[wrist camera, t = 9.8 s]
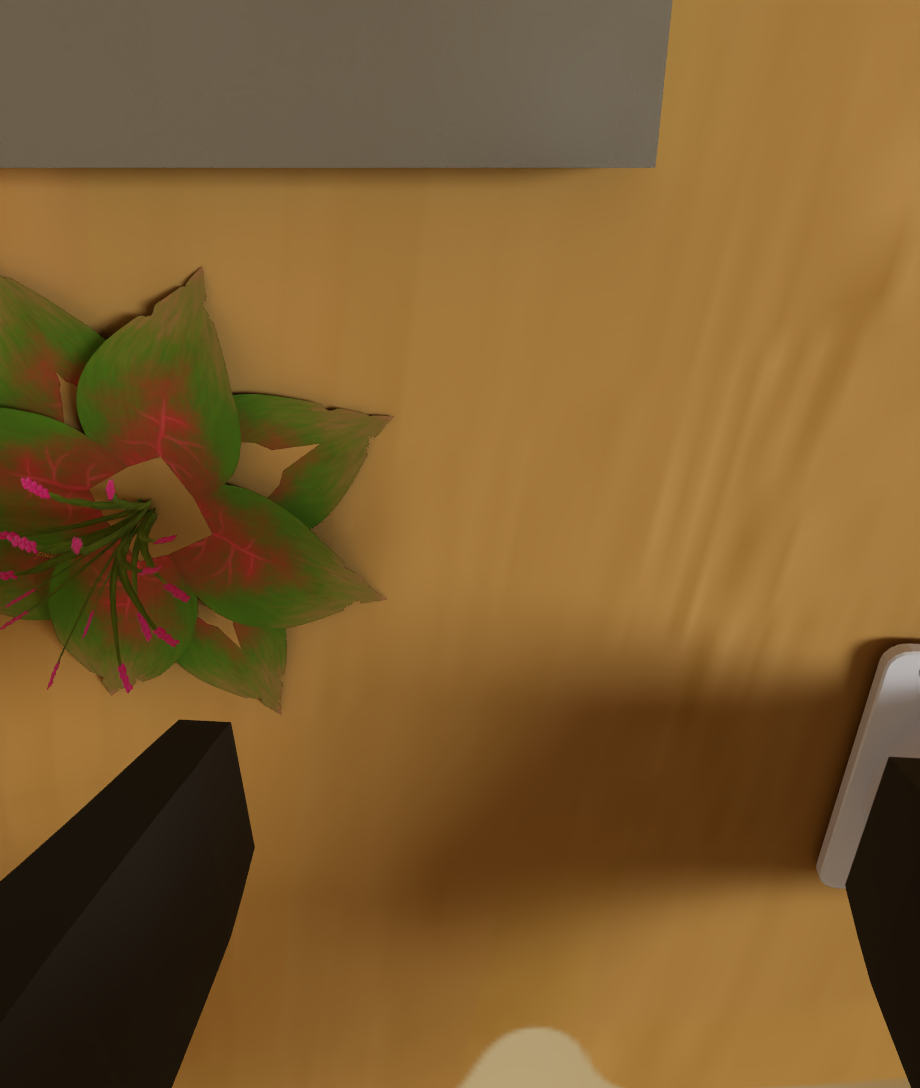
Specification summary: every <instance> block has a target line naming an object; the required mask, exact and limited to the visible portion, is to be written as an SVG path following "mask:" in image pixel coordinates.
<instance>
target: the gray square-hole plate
mask: <svg viewBox="0 0 920 1088" xmlns="http://www.w3.org/2000/svg"><path fill="white" fill-rule="evenodd" d="M671 8H672V0H0V168H655V166H656V156H657V146H658V136H659V126H660V116H661V107H662V97H663V87H664V77H665V67H666V58H667V48H668V38H669V28H670V18H671Z"/></svg>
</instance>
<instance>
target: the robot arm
mask: <svg viewBox="0 0 920 1088" xmlns="http://www.w3.org/2000/svg"><path fill="white" fill-rule="evenodd" d="M254 848H255V847H254V841H253V836H252V831H251V825H250V820H249V815H248V810H247V804H246V799H245V794H244V789H243V783H242V778H241V773H240V767H239V762H238V757H237V752H236V746H235V741H234V736H233V731H232V725H231V722H215V721H195V720H178V721H177V722H176V723H175V724H174V725H173V726H172V727H170V728H169V729H168V730H167V731H166V732H165V733H164V734H163V735H162V736H160V737H159V738H158V739H157V740H156V741H155V742H154V743H153V744H151V745H150V746H149V747H148V748H147V749H146V750H145V751H144V752H143V753H142V754H141V755H140V756H138V757H137V758H136V759H135V760H134V761H133V762H132V763H131V764H130V765H129V766H128V767H127V768H125V769H124V770H123V771H122V772H121V773H120V774H119V775H118V776H117V777H116V778H115V779H114V780H113V781H112V782H110V783H109V784H108V785H107V786H106V787H105V788H104V789H103V790H102V791H101V792H100V793H99V794H97V795H96V796H95V797H94V798H93V799H92V800H91V801H90V802H89V803H88V804H87V805H85V806H84V807H83V808H82V809H81V810H80V811H79V812H78V813H77V814H76V815H75V816H74V817H72V818H71V819H70V820H69V821H68V822H67V823H66V824H65V825H63V826H62V827H61V828H60V829H59V830H58V831H57V832H56V833H54V834H53V835H52V836H51V837H50V838H49V839H48V840H47V841H46V842H44V843H43V844H42V845H41V846H40V847H39V848H38V849H37V850H35V851H34V852H33V853H32V854H31V855H30V856H29V857H28V858H26V859H25V860H24V861H23V862H22V863H21V864H20V865H19V866H18V867H16V868H15V869H14V870H13V871H12V872H11V873H9V874H8V875H7V876H6V877H5V878H4V879H3V880H1V881H0V1088H172V1086H173V1083H174V1081H175V1078H176V1076H177V1073H178V1070H179V1068H180V1065H181V1063H182V1060H183V1058H184V1055H185V1053H186V1050H187V1048H188V1045H189V1043H190V1040H191V1038H192V1035H193V1033H194V1030H195V1028H196V1025H197V1022H198V1020H199V1017H200V1015H201V1012H202V1010H203V1007H204V1005H205V1002H206V1000H207V997H208V994H209V992H210V989H211V987H212V984H213V982H214V979H215V976H216V974H217V971H218V969H219V966H220V963H221V961H222V958H223V956H224V953H225V950H226V948H227V945H228V942H229V940H230V937H231V934H232V930H233V927H234V923H235V920H236V916H237V913H238V909H239V905H240V902H241V898H242V895H243V891H244V887H245V883H246V879H247V875H248V871H249V867H250V863H251V860H252V856H253V852H254ZM816 870H817V873H818V876H819V879H820V880H821V882H822V883H823V884H825V885H826V886H828V887H833V888H843V889H846V891H847V895H848V899H849V903H850V907H851V911H852V915H853V919H854V923H855V927H856V931H857V935H858V939H859V943H860V946H861V950H862V953H863V957H864V961H865V964H866V968H867V971H868V975H869V979H870V982H871V985H872V987H873V990H874V993H875V995H876V998H877V1001H878V1003H879V1006H880V1009H881V1011H882V1014H883V1017H884V1019H885V1022H886V1024H887V1027H888V1029H889V1032H890V1035H891V1037H892V1040H893V1042H894V1045H895V1047H896V1050H897V1053H898V1055H899V1058H900V1060H901V1063H902V1066H903V1068H904V1071H905V1073H906V1076H907V1078H908V1081H909V1083H910V1086H911V1088H920V644H908V643H907V644H898V645H896V646H894V647H891V648H889V649H888V650H887V651H886V652H885V653H883V655H882V657H881V658H880V660H879V664H878V667H877V670H876V673H875V677H874V680H873V683H872V686H871V689H870V693H869V696H868V699H867V702H866V706H865V709H864V712H863V715H862V719H861V722H860V725H859V728H858V732H857V735H856V738H855V741H854V745H853V748H852V751H851V754H850V757H849V761H848V764H847V767H846V770H845V774H844V777H843V780H842V783H841V787H840V790H839V793H838V796H837V800H836V803H835V806H834V809H833V812H832V816H831V819H830V822H829V825H828V829H827V832H826V835H825V838H824V842H823V845H822V848H821V851H820V855H819V858H818V861H817V864H816Z"/></svg>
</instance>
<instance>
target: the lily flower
mask: <svg viewBox="0 0 920 1088" xmlns="http://www.w3.org/2000/svg"><path fill="white" fill-rule="evenodd" d="M205 298H206V294H205V287H204V280H203V269H202V267H201V268H200V269H199V270H198V271H197V272H196V273H195V274H194V275H193V276H192V277H191V278H190V279H189V281H188V282H187V284H186V286H184V287H180V288H178V289H177V290H175V291H174V292H173V293H171V294H170V295H168V296H167V297H166V298H164V299H163V300H161V301H160V302H158V303H157V304H156V305H155V307H154V309H153V310H154V311H153V313H152V315H151V316H147V317H145V316H137V317H136V318H134V319H133V320H132V321H130V322H129V323H127V324H126V325H125V326H124V327H122V328H121V329H120V330H118V331H117V332H116V333H114V334H113V335H112V336H111V337H109V338H108V339H107V340H105V339H104V338H103V337H102V336H100V335H99V334H98V333H96V332H95V331H94V330H92V329H91V328H90V327H88V326H87V325H85V324H84V323H82V322H81V321H80V320H78V319H76V318H75V317H73V316H72V315H70V314H68V313H67V312H65V311H64V310H63V309H61V308H60V307H58V306H57V305H55V304H54V303H52V302H50V301H49V300H47V299H46V298H44V297H42V296H41V295H39V294H37V293H36V292H34V291H32V290H30V289H29V288H27V287H25V286H24V285H22V284H20V283H18V282H17V281H15V280H13V279H11V278H6V279H5V278H4V276H3V277H1V276H0V614H4V615H7V616H11V617H15V618H13V619H12V620H11V621H9V622H7V623H6V624H4V625H3V627H2V628H0V629H4V628H5V627H6V626H7V625H10V624H12V623H13V622H14V621H15V620H19V619H27V620H39V619H40V620H52V623H53V627H54V630H55V632H56V635H57V637H58V639H59V642H60V643H61V644H62V645H63V646H64V648H63V651H62V653H61V655H60V657H59V660H58V662H57V664H56V665H55V667H54V671H53V672H52V675H51V679H50V682H49V684H48V688H49V687H51V685H52V683H53V679H54V676H55V674H56V670H57V669H58V667H59V664H60V659H61V656H62V654H63V652H64V650H65V648H66V649H67V650H68V651H69V653H70V654H71V655H73V656H74V657H75V658H76V659H77V660H78V661H79V662H80V663H81V664H82V665H83V666H85V667H86V668H87V669H88V670H89V671H90V672H93V673H97V674H98V675H99V676H101V677H105V678H103V679H104V680H102V681H103V682H102V683H103V684H104V685H105V687H106V688H107V690H108V691H109V693H110V695H113V694H114V693H116V692H117V690H119V688H120V689H123V688H126V692H127V693H129V692H130V690H132V689H133V686H132V685H134V683H135V681H136V680H137V679H139V680H141V681H143V682H144V681H147V680H150V679H152V678H155V677H157V676H159V675H161V674H162V673H163V672H165V671H166V670H167V669H168V668H169V667H170V666H171V665H172V664H174V663H175V662H177V663H178V664H180V665H181V666H182V667H183V668H184V669H186V670H187V671H188V672H190V673H191V674H193V675H194V676H195V677H197V678H198V679H200V680H202V681H204V682H206V683H208V684H210V685H212V686H215V687H217V688H220V689H222V690H225V691H228V692H230V693H233V694H236V695H238V696H241V697H244V698H251V697H252V698H258V699H259V698H261V700H262V701H263V702H262V703H263V704H264V705H265V706H267V707H269V708H271V709H272V710H274V711H275V712H277V713H279V714H280V715H281V706H280V702H279V700H280V699H281V692H282V685H283V684H282V682H281V680H280V678H279V676H280V675H283V674H285V666H286V649H287V647H286V645H287V644H286V628H289V627H295V626H298V625H302V624H305V623H309V622H312V621H315V620H318V619H321V618H324V617H327V616H329V615H332V614H335V613H338V612H340V611H343V610H344V609H345V608H346V607H347V605H348V606H349V605H350V604H352V603H353V602H354V601H356V600H357V601H360V603H368V602H372V601H380V600H387V599H386V598H384V597H383V596H381V595H380V594H379V593H377V592H375V591H374V590H372V589H370V586H369V585H368V584H367V583H365V582H364V581H363V580H362V579H361V578H360V577H359V576H358V575H357V574H356V573H355V572H353V571H351V570H347V569H345V567H344V561H343V560H342V559H341V558H340V557H339V556H338V555H337V554H335V553H334V552H333V551H332V550H331V549H330V548H329V547H327V546H326V545H325V544H324V543H323V542H321V540H320V539H319V538H318V537H317V536H316V535H315V534H314V533H313V532H312V531H311V530H309V529H311V528H313V527H314V526H316V525H317V524H319V523H320V522H321V521H322V520H323V519H325V518H326V517H327V516H328V515H329V514H330V513H331V512H332V511H333V509H334V508H335V507H336V506H337V504H338V503H339V502H340V501H341V499H342V498H343V496H344V495H345V493H346V492H347V490H348V489H349V487H350V486H351V484H352V482H353V480H354V479H355V477H356V475H357V473H358V471H359V469H360V468H361V466H362V464H363V462H364V460H365V458H366V457H367V447H368V445H369V443H368V441H369V437H372V436H374V437H376V436H377V435H379V433H380V432H381V431H382V429H383V428H384V427H385V425H386V424H387V423H388V422H389V421H390V420H391V419H392V418H393V417H394V416H379V415H377V416H374V415H373V416H371V417H370V416H369V415H367V414H364V413H359V412H354V411H350V410H346V409H340V408H339V409H334V410H331V411H328V410H326V409H325V407H324V406H323V405H322V404H319V403H314V402H309V401H304V400H298V399H292V398H285V397H279V396H271V395H268V396H266V395H261V394H240V395H232V392H231V388H230V384H229V379H228V374H227V370H226V366H225V362H224V358H223V355H222V351H221V347H220V344H219V340H218V337H217V333H216V330H215V326H214V323H213V322H212V321H211V319H210V318H208V316H209V315H208V314H207V312H206V311H205V308H204V306H202V305H203V304H204V303H203V302H204V301H206V299H205ZM56 373H57V374H58V375H60V376H61V377H62V378H63V379H64V380H65V381H66V382H70V383H73V384H74V385H76V386H78V388H77V397H76V402H77V412H78V416H79V420H80V423H81V425H82V428H83V430H84V432H85V434H86V435H84V434H83V433H81V432H80V431H78V430H76V429H74V428H72V427H70V426H69V425H66V424H64V418H63V407H62V401H61V395H60V390H59V388H60V382H59V379H58V377H57V374H56ZM241 442H251V443H257V444H259V445H261V446H264V447H266V448H268V449H271V450H275V449H283V448H291V447H298V446H306V445H313V444H319V445H318V446H317V447H315V448H314V449H313V450H311V451H310V452H308V453H307V454H306V455H304V456H303V457H302V458H300V459H299V460H297V461H296V462H295V463H293V464H292V465H291V466H289V467H288V468H286V469H285V470H284V471H283V474H282V478H281V481H280V485H279V486H278V487H277V488H276V490H275V491H274V492H273V493H272V494H271V495H270V496H269V497H268V498H266V497H263V496H262V495H260V494H257V493H255V492H253V491H250V490H247V489H244V488H240V487H236V486H231V485H224V484H225V483H226V482H227V481H228V480H229V479H230V478H231V476H232V475H233V473H234V471H235V469H236V466H237V464H238V460H239V455H240V446H241ZM160 456H161V457H162V459H163V460H164V461H165V462H166V464H167V465H168V466H169V467H170V469H171V470H172V471H173V472H174V474H175V475H176V476H177V478H178V479H179V480H180V481H181V483H182V484H183V485H184V486H185V488H186V489H187V490H188V491H189V493H190V494H191V495H192V496H193V498H194V499H195V501H196V503H197V505H198V507H199V509H200V511H201V513H202V515H203V517H204V518H205V520H206V522H207V524H208V526H209V528H210V530H211V532H212V534H213V535H211V536H209V537H207V538H205V539H202V540H200V541H198V542H196V543H193V544H191V545H189V546H187V547H184V548H182V549H180V550H178V551H175V552H173V553H171V554H169V555H165V556H161V557H156V558H151V556H150V554H149V551H148V542H154V543H153V544H158V543H161V542H162V543H161V544H163V543H166V542H170V541H172V540H174V539H175V537H176V536H177V535H175V536H174V535H173V536H169V537H166V538H165V537H163V538H160V539H158V540H153V539H150V538H149V537H148V535H149V532H150V530H151V527H152V526H153V524H154V522H155V521H156V519H157V514H155V513H154V511H155V509H156V508H155V509H153V510H150V511H149V507H150V502H151V499H150V500H149V501H148V502H147V503H143V502H142V500H141V499H140V498H139V499H138V500H137V501H136V502H128V501H127V500H124V499H123V500H119V499H118V497H117V495H116V494H115V490H114V489H115V486H114V483H113V479H112V480H109V481H108V485H107V487H106V491H107V492H106V494H107V497H108V500H109V499H110V500H113V502H95V500H94V498H93V496H92V494H91V492H90V491H89V489H90V488H91V487H93V486H95V485H97V484H98V483H100V482H102V481H104V480H105V479H107V478H109V477H111V476H113V475H114V474H116V473H118V472H120V471H121V470H123V469H125V468H127V467H129V466H132V465H135V464H138V463H141V462H145V461H148V460H151V459H154V458H157V457H160ZM112 483H113V484H112ZM113 486H114V487H113ZM104 509H124V510H127V511H123V512H121V513H117V514H113V515H108V516H103V514H102V513H101V511H100V510H104ZM146 513H147V514H146ZM145 514H146V516H145V518H144V519H143V521H142V522H141V523H140V524H139V525H138V523H139V522H140V521H141V519H142V518H143V517H144V515H145ZM128 515H129V516H128ZM125 516H128V517H126V518H125V519H123V520H121V521H120V522H118V523H116V524H114V525H112V526H110V525H109V524H108V522H107V521H108V520H113V519H117V518H121V517H125ZM137 525H138V527H137V528H136V526H137ZM136 533H137V537H136V540H135V543H134V548H133V553H132V552H131V551H130V550H129V546H130V543H131V540H132V538H133V537H134V535H135V534H136ZM155 541H156V542H155ZM139 550H140V551H141V554H142V556H143V558H144V561H138V555H139ZM38 551H41V552H45V553H49V554H61V555H58V556H56V557H54V558H51V559H50V558H44V557H42V556H35V555H36V554H37V553H38ZM64 552H65V553H64ZM62 553H63V554H62ZM197 597H198V598H199V599H200V600H201V601H202V602H203V603H204V604H206V605H207V606H208V607H209V608H211V609H212V610H214V611H215V612H216V613H218V614H220V615H221V616H223V617H225V618H227V619H230V620H232V621H234V622H233V626H234V629H235V632H236V635H237V638H238V641H239V644H240V647H241V649H240V648H239V647H238V646H237V645H236V644H235V643H234V642H233V641H232V640H231V639H230V638H229V637H228V636H227V635H225V634H224V633H223V632H222V631H221V630H220V629H219V628H218V627H215V626H212V625H209V624H207V623H205V622H204V621H203V620H201V619H200V618H199V617H197V614H198V603H197ZM48 688H47V690H48Z"/></svg>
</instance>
